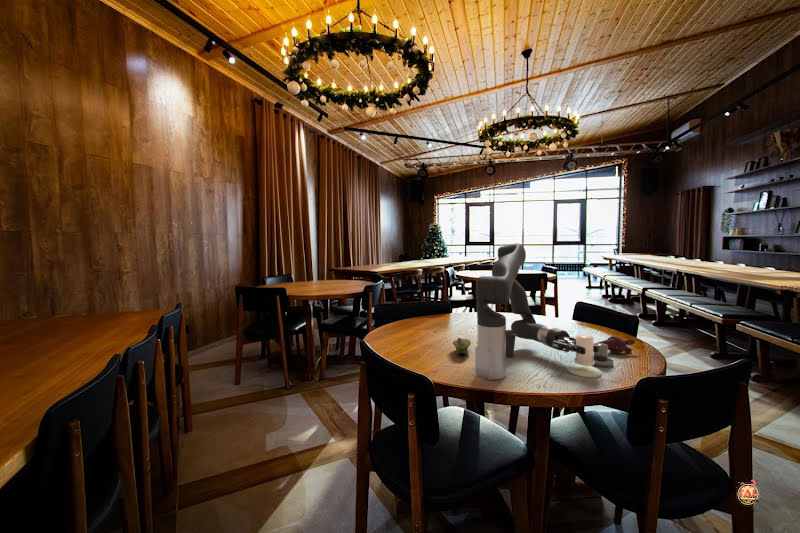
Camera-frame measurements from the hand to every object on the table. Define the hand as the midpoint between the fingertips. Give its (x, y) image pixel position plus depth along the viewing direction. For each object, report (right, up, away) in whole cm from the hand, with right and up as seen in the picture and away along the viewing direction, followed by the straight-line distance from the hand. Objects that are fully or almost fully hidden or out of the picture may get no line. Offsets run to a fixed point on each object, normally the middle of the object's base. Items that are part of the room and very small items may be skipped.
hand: (591, 350), depth 114 cm
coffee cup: (-22, -8, +21) cm, 31 cm away
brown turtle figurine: (+22, -7, +23) cm, 32 cm away
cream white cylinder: (-1, -5, +3) cm, 6 cm away
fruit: (-39, -8, +25) cm, 47 cm away
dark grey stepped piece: (+9, -7, +11) cm, 16 cm away
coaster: (-1, -8, +3) cm, 9 cm away
